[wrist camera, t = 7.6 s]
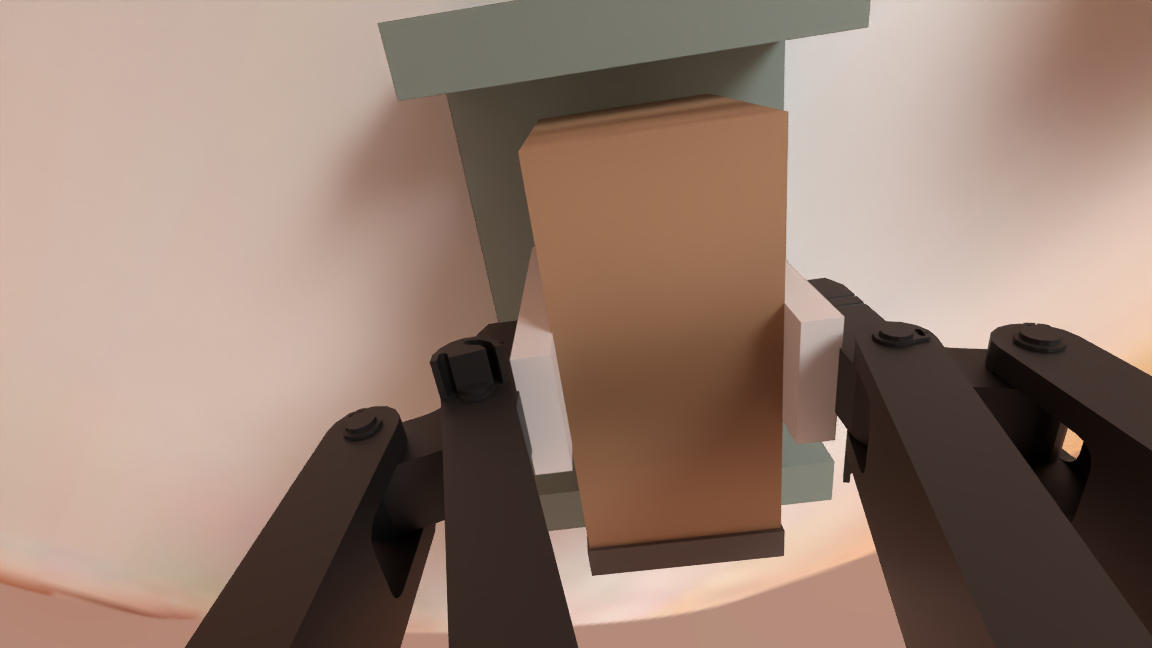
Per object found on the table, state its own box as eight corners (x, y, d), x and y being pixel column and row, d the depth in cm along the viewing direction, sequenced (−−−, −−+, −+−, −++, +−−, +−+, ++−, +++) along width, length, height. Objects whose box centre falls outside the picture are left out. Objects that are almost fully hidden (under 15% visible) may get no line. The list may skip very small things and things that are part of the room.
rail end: (536, 119, 15) (514, 153, 9) (710, 92, 15) (793, 111, 9) (587, 426, 19) (592, 575, 14) (722, 410, 19) (783, 555, 13)
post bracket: (439, 32, 17) (378, 23, 11) (774, -22, 16) (874, -59, 11) (526, 422, 23) (512, 534, 18) (769, 392, 23) (831, 499, 17)
